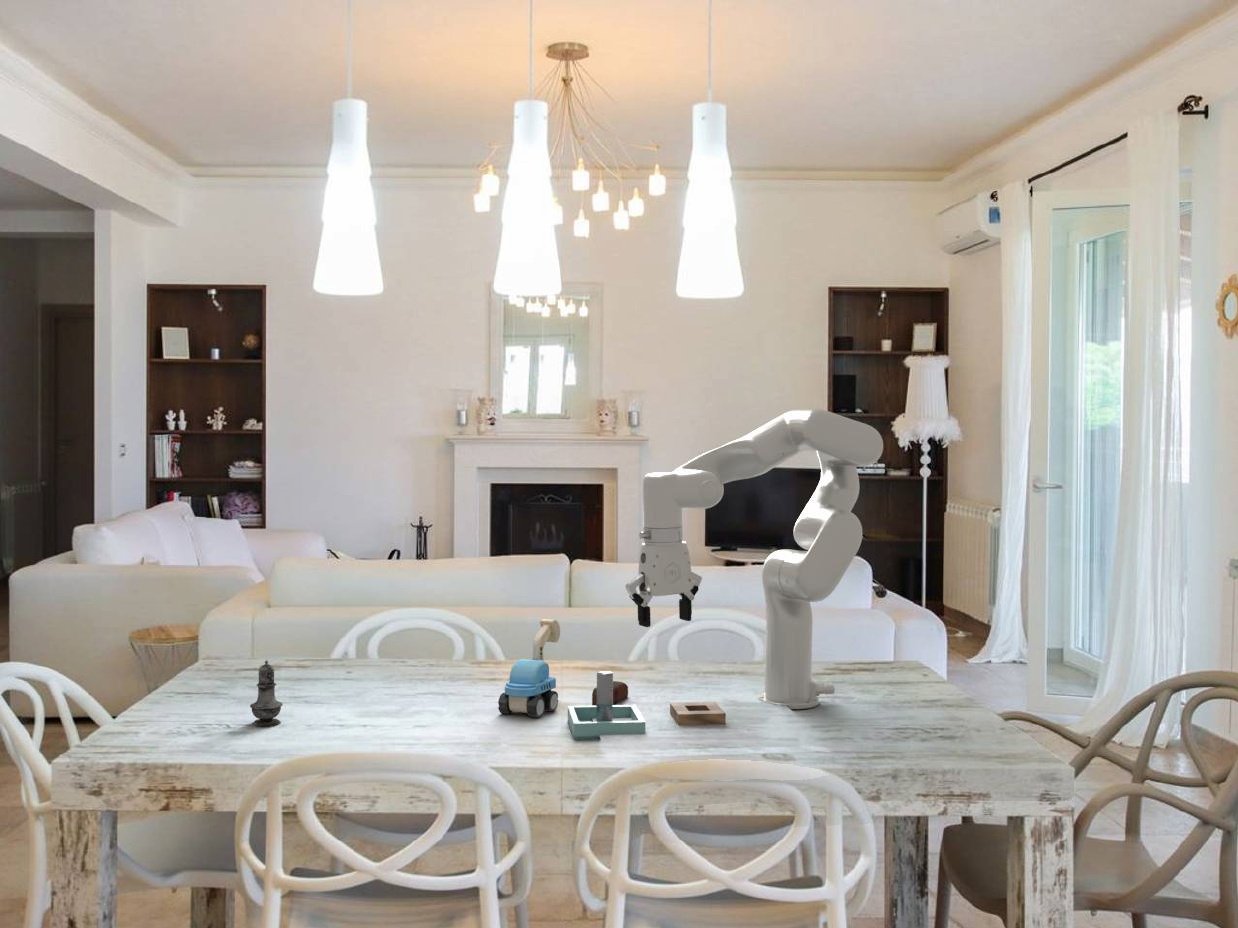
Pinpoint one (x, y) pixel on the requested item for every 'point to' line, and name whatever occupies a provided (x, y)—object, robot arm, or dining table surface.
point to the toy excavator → (532, 678)
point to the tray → (603, 722)
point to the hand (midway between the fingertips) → (665, 622)
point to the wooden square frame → (697, 713)
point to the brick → (618, 693)
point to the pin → (604, 696)
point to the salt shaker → (266, 699)
